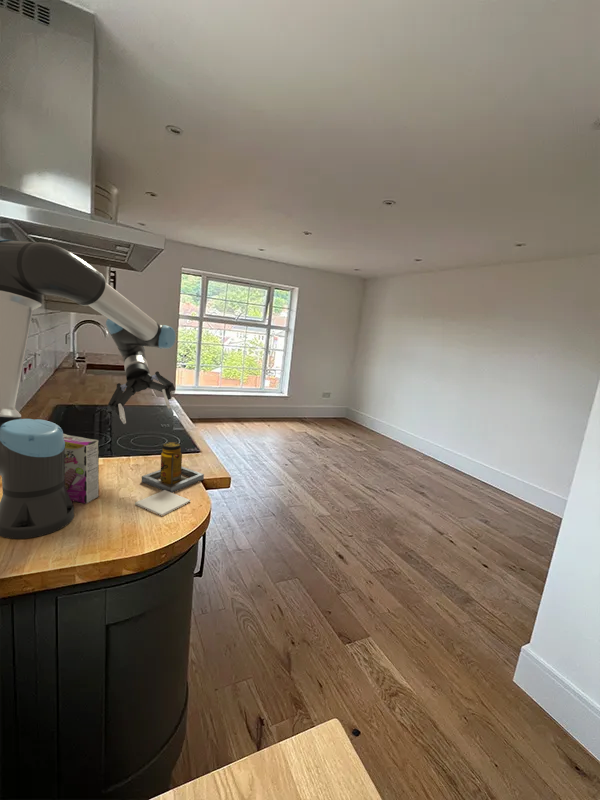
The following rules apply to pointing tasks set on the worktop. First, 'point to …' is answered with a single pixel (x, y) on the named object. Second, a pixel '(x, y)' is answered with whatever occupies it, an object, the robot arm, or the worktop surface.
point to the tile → (162, 502)
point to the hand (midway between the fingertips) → (146, 413)
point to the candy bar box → (81, 468)
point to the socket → (194, 478)
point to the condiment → (171, 463)
